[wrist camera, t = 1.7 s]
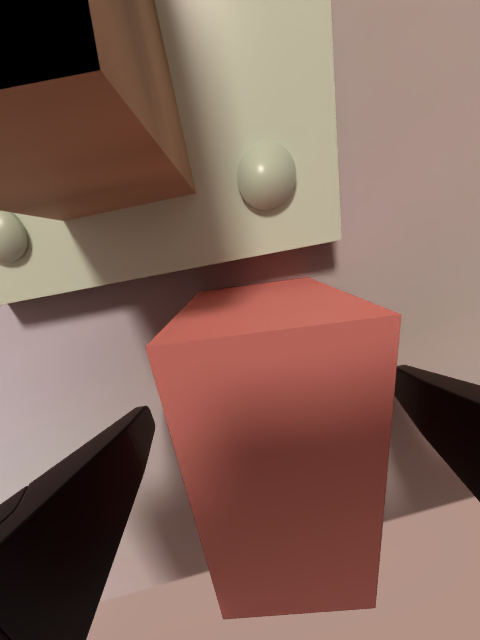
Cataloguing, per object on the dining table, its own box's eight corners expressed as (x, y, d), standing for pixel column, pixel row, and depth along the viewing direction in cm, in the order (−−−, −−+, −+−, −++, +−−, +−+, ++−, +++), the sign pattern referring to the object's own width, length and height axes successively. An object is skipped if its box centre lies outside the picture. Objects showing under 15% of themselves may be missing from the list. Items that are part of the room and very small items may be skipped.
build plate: (287, -437, 4) (305, -704, 3) (328, 241, 8) (344, 239, 6) (-269, -234, 5) (-429, -387, 4) (5, 302, 8) (-32, 311, 7)
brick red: (199, 291, 8) (145, 346, 4) (306, 276, 8) (400, 314, 3) (230, 454, 11) (223, 619, 6) (314, 445, 11) (375, 607, 6)
